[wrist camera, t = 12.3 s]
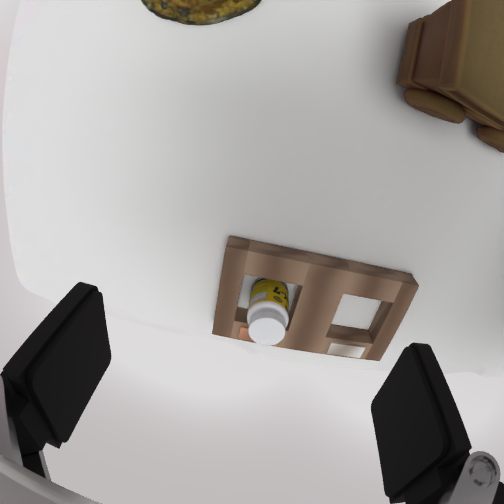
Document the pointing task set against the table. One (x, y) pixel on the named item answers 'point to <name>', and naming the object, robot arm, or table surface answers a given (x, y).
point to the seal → (199, 10)
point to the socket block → (314, 298)
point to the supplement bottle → (268, 311)
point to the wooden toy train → (458, 65)
